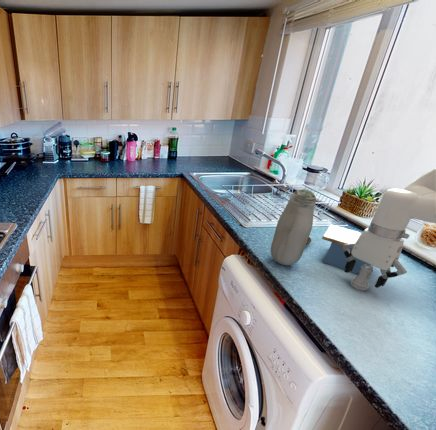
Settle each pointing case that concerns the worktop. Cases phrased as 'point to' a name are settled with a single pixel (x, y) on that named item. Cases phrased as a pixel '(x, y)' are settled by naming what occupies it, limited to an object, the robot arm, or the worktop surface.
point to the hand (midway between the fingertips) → (362, 278)
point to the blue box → (341, 258)
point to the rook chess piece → (362, 278)
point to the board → (341, 235)
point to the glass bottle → (293, 228)
